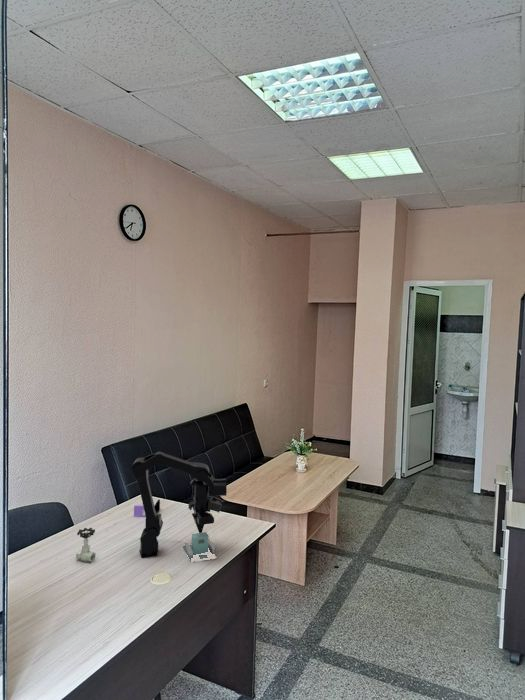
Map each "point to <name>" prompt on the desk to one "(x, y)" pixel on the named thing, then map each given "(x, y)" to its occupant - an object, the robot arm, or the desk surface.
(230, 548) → the desk surface
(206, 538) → the block
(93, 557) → the valve
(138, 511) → the toy room diorama
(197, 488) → the robot arm
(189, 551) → the plate
